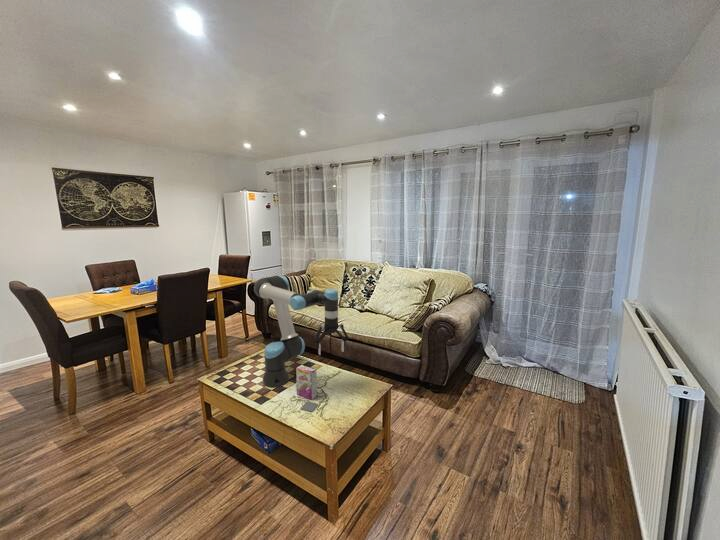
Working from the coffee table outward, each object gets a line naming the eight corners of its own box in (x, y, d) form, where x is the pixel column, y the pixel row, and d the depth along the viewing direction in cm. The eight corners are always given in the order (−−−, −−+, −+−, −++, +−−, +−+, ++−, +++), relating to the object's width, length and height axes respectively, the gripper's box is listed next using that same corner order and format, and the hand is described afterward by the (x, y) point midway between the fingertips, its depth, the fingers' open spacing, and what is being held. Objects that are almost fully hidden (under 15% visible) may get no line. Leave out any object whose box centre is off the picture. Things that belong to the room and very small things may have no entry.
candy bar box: (296, 394, 173) (295, 367, 170) (302, 390, 177) (301, 364, 174) (311, 400, 167) (310, 372, 165) (317, 396, 171) (316, 369, 169)
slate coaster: (300, 409, 159) (300, 408, 159) (307, 402, 166) (307, 401, 166) (312, 412, 157) (312, 411, 157) (318, 404, 163) (318, 403, 163)
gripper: (310, 321, 163) (310, 358, 166) (354, 317, 171) (353, 352, 175) (307, 316, 170) (308, 352, 173) (350, 313, 178) (350, 347, 182)
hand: (331, 352), depth 174 cm, fingers open, 13 cm apart
